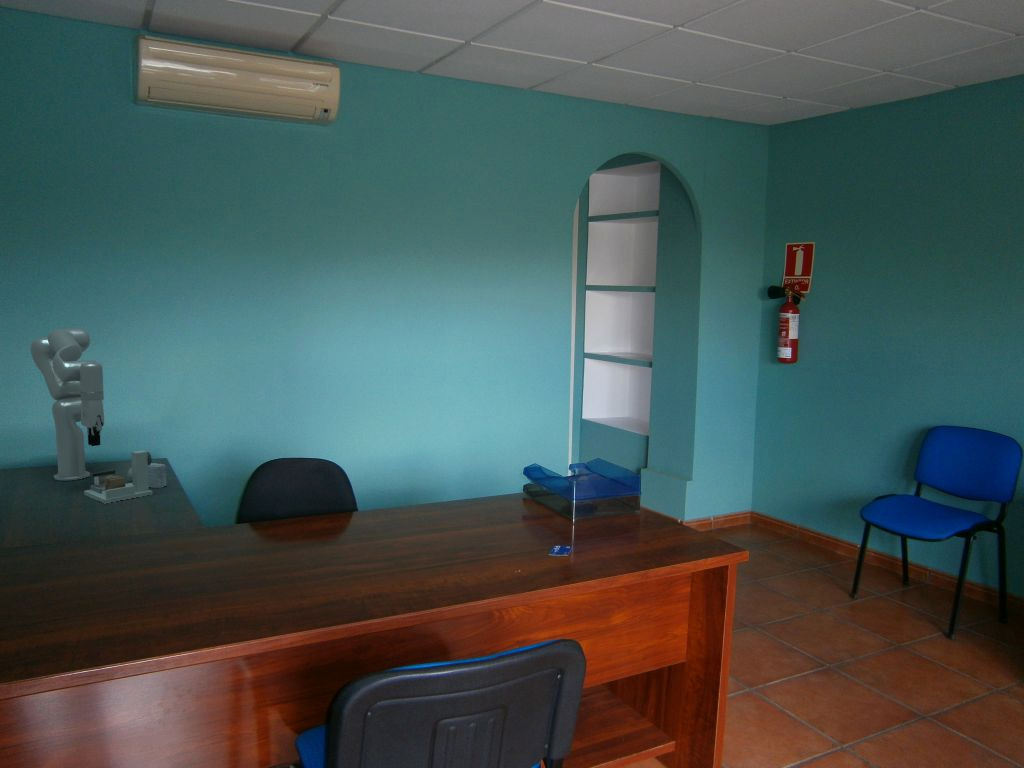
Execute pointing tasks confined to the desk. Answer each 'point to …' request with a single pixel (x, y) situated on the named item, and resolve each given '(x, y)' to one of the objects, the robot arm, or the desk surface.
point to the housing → (114, 482)
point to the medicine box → (156, 475)
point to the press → (131, 489)
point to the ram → (101, 478)
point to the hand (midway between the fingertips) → (94, 444)
